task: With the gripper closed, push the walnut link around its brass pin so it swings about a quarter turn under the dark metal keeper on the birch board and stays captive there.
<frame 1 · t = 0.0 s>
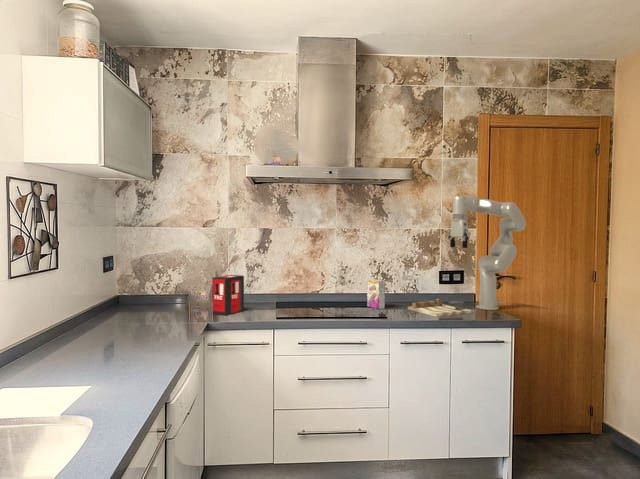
hand: (458, 247, 282), 37 cm above the table, tool pointing down, fingers open, 9 cm apart
walnut link: (427, 303, 290), point 4 cm above the table, hinge at 0.0°
birch board: (439, 311, 284), on the table
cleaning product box: (228, 313, 271), on the table
dark metal keeper: (437, 308, 293), resting on birch board
candy bar box: (375, 308, 293), on the table
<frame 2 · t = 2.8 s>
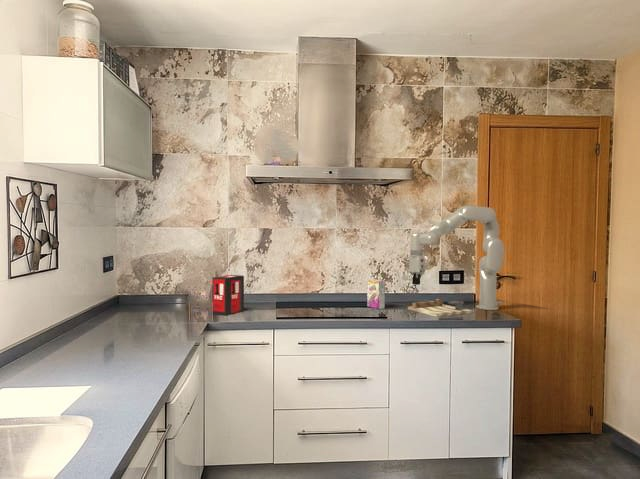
hand: (416, 284, 295), 14 cm above the table, tool pointing down, fingers closed
nothing on the table moved.
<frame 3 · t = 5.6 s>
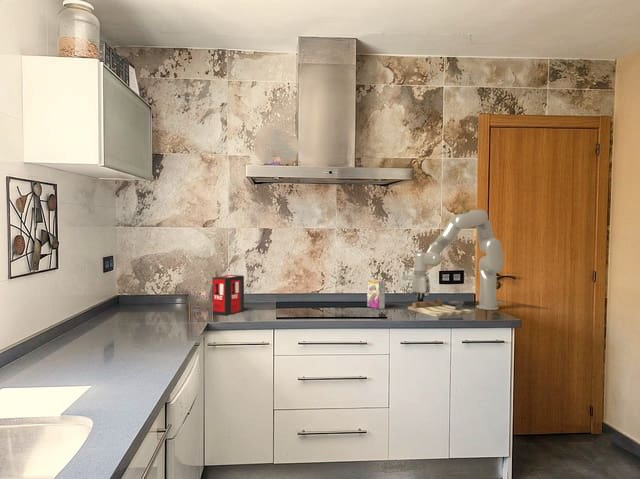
hand: (420, 304, 291), 2 cm above the table, tool pointing down, fingers closed
walnut link: (427, 303, 290), point 4 cm above the table, hinge at 0.0°, touching gripper
everything else where it was.
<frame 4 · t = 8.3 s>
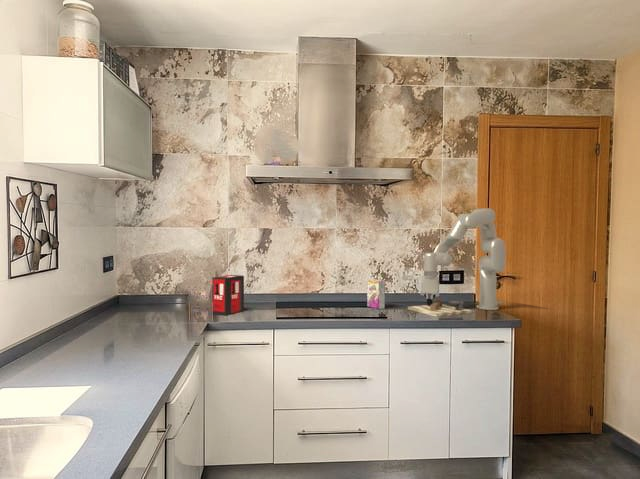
hand: (429, 305, 285), 3 cm above the table, tool pointing down, fingers closed
walnut link: (435, 304, 286), point 4 cm above the table, hinge at 39.8°, touching gripper
everything else where it was.
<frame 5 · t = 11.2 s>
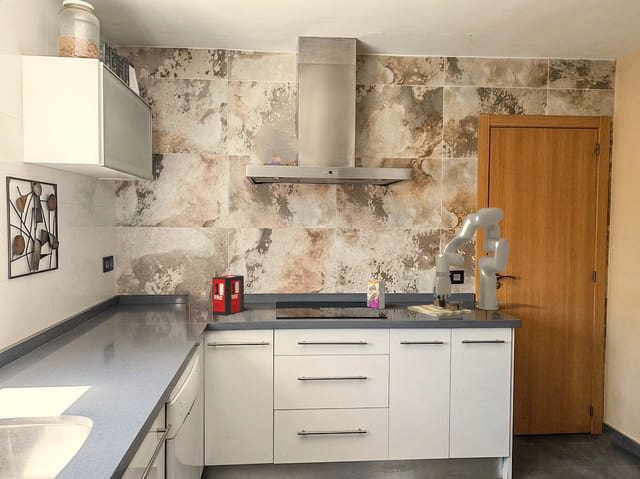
hand: (441, 306, 282), 3 cm above the table, tool pointing down, fingers closed
walnut link: (445, 304, 286), point 4 cm above the table, hinge at 79.3°
everything else where it was.
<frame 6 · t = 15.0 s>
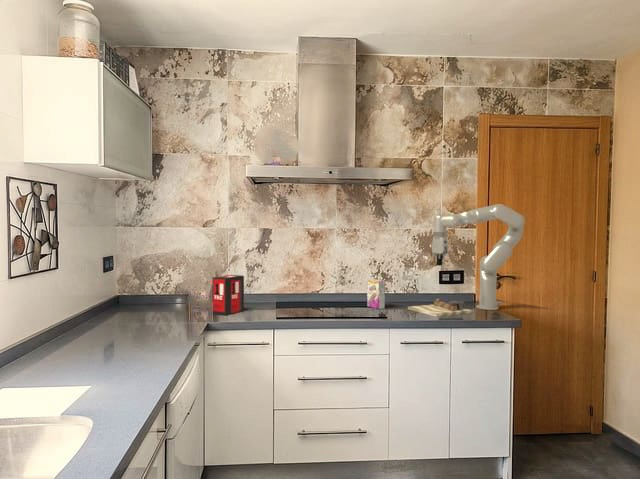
hand: (439, 265, 300), 25 cm above the table, tool pointing down, fingers closed
nothing on the table moved.
at the end: walnut link at +79° (first picture: +0°); the gripper is holding nothing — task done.
